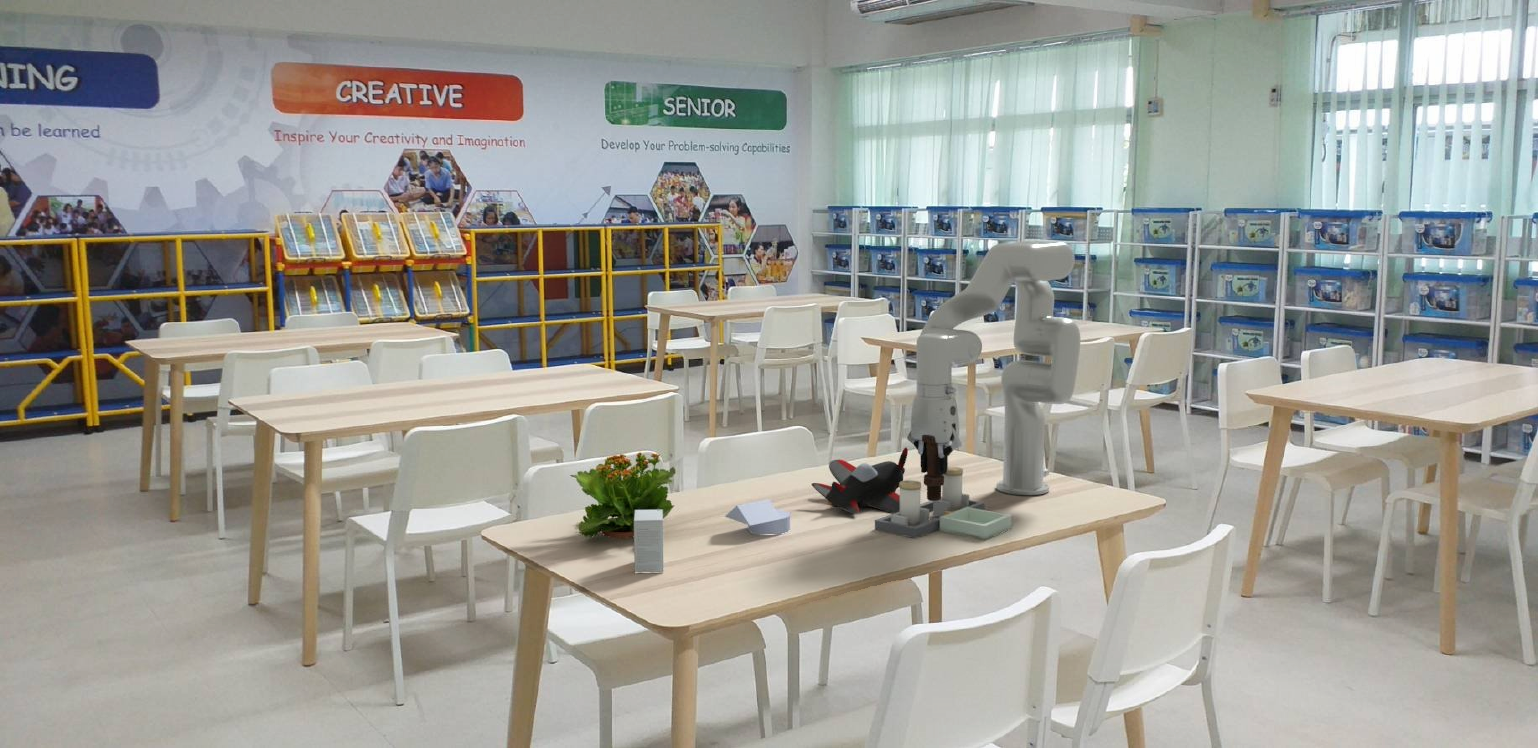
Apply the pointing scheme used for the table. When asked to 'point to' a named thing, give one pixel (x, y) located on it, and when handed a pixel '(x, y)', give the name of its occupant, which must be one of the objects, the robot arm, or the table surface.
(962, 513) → the tray
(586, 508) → the potted flower
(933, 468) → the bolt
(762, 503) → the wedge on round base
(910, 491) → the fuse outer
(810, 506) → the table surface
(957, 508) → the ball
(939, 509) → the block
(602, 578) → the table surface
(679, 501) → the table surface
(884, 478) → the toy airplane
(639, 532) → the small box
